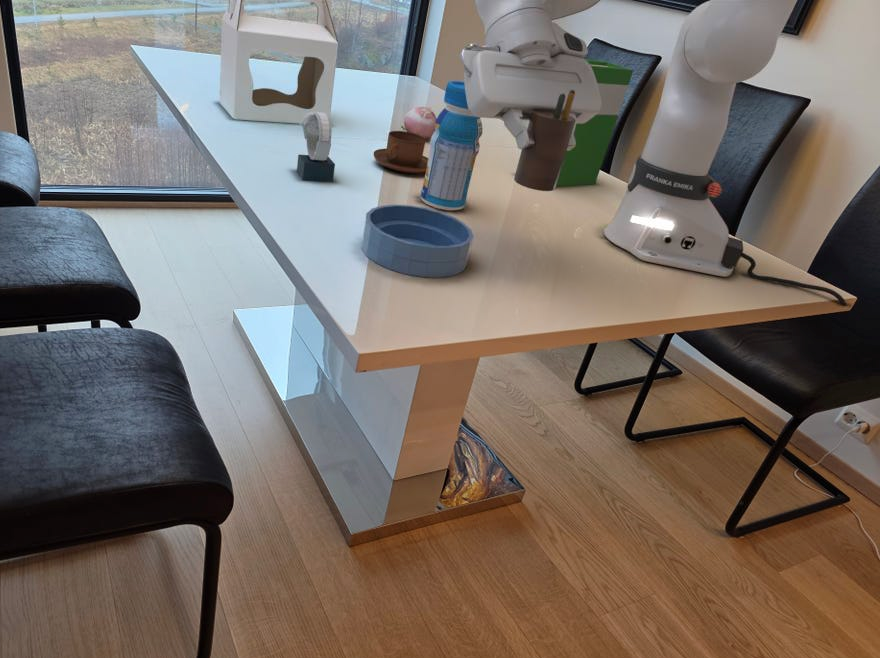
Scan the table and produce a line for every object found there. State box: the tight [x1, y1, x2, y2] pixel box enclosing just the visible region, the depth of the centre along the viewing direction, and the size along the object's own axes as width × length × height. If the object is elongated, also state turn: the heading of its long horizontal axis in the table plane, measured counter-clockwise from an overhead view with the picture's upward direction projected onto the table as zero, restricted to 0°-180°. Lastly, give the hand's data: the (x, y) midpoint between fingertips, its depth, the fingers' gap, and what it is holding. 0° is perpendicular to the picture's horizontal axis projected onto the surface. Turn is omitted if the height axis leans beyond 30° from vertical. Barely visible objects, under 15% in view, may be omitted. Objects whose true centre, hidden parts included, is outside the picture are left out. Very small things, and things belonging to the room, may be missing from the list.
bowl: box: [361, 204, 474, 279], centre depth 95 cm, size 15×15×5 cm
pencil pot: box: [513, 90, 576, 192], centre depth 86 cm, size 6×6×12 cm
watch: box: [296, 112, 336, 182], centre depth 116 cm, size 6×8×11 cm
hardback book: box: [556, 59, 634, 187], centre depth 140 cm, size 18×7×24 cm, turn 126°
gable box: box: [219, 0, 339, 125], centre depth 144 cm, size 22×13×28 cm, turn 115°
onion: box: [400, 106, 437, 140], centre depth 155 cm, size 8×8×7 cm
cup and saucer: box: [373, 130, 429, 174], centre depth 132 cm, size 12×12×6 cm
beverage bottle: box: [420, 80, 483, 211], centre depth 114 cm, size 8×8×20 cm
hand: (548, 148), depth 86 cm, fingers closed on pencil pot, 5 cm apart
